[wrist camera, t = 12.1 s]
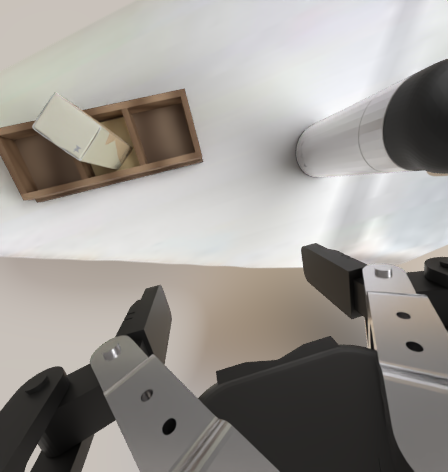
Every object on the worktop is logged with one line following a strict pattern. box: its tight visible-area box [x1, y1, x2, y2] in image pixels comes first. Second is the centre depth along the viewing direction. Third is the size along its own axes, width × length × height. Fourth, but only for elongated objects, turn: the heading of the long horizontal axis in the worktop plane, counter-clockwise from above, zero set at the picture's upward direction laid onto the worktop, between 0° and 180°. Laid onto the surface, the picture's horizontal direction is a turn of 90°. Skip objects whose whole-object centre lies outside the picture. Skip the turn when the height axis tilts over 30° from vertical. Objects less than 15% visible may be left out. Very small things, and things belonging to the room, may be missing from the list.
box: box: [32, 92, 132, 170], centre depth 26 cm, size 5×4×11 cm
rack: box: [0, 89, 203, 202], centre depth 30 cm, size 26×10×4 cm, turn 104°
